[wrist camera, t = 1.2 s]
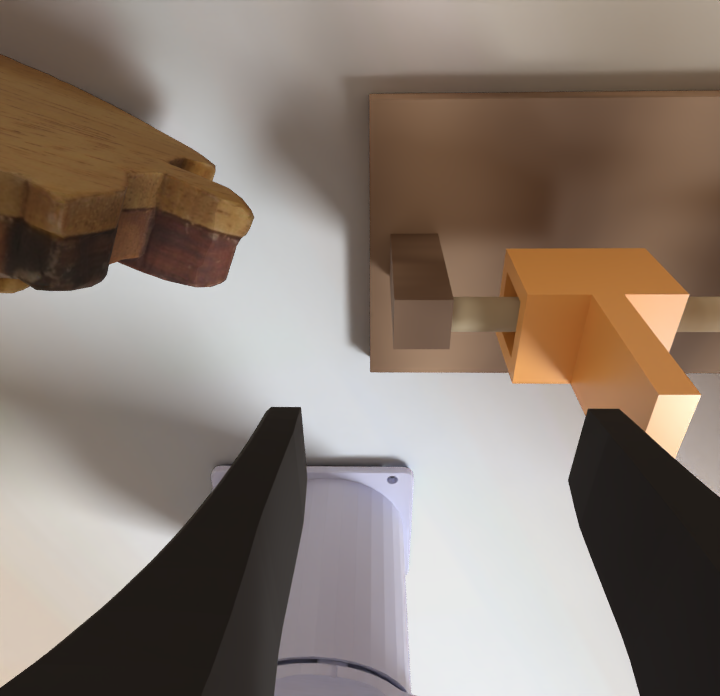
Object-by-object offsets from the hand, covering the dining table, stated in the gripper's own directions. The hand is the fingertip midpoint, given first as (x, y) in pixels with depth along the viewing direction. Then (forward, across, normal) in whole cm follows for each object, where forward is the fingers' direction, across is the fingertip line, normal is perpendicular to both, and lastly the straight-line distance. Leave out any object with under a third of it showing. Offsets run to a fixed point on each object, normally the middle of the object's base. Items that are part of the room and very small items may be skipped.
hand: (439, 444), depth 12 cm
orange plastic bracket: (+7, -5, 0) cm, 8 cm away
